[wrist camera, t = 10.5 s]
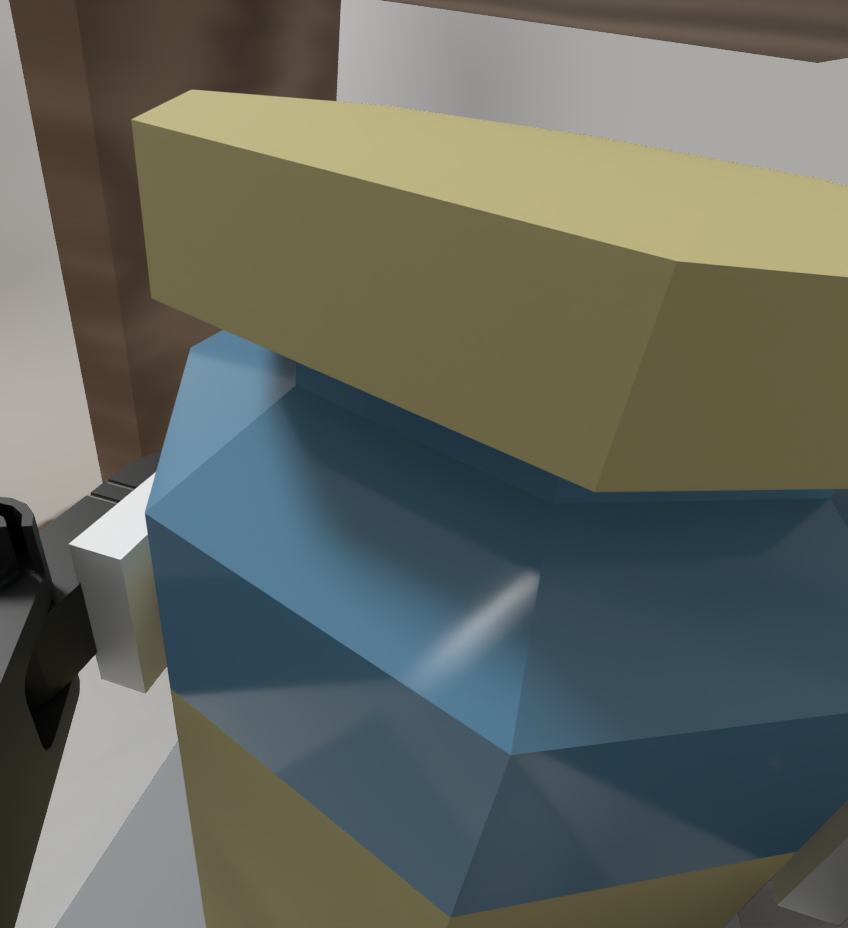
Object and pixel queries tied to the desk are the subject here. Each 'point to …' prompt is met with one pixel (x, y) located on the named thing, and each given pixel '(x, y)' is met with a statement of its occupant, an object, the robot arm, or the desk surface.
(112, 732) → the desk surface
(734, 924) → the mat
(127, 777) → the desk surface
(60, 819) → the desk surface
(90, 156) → the shelf
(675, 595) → the jar
